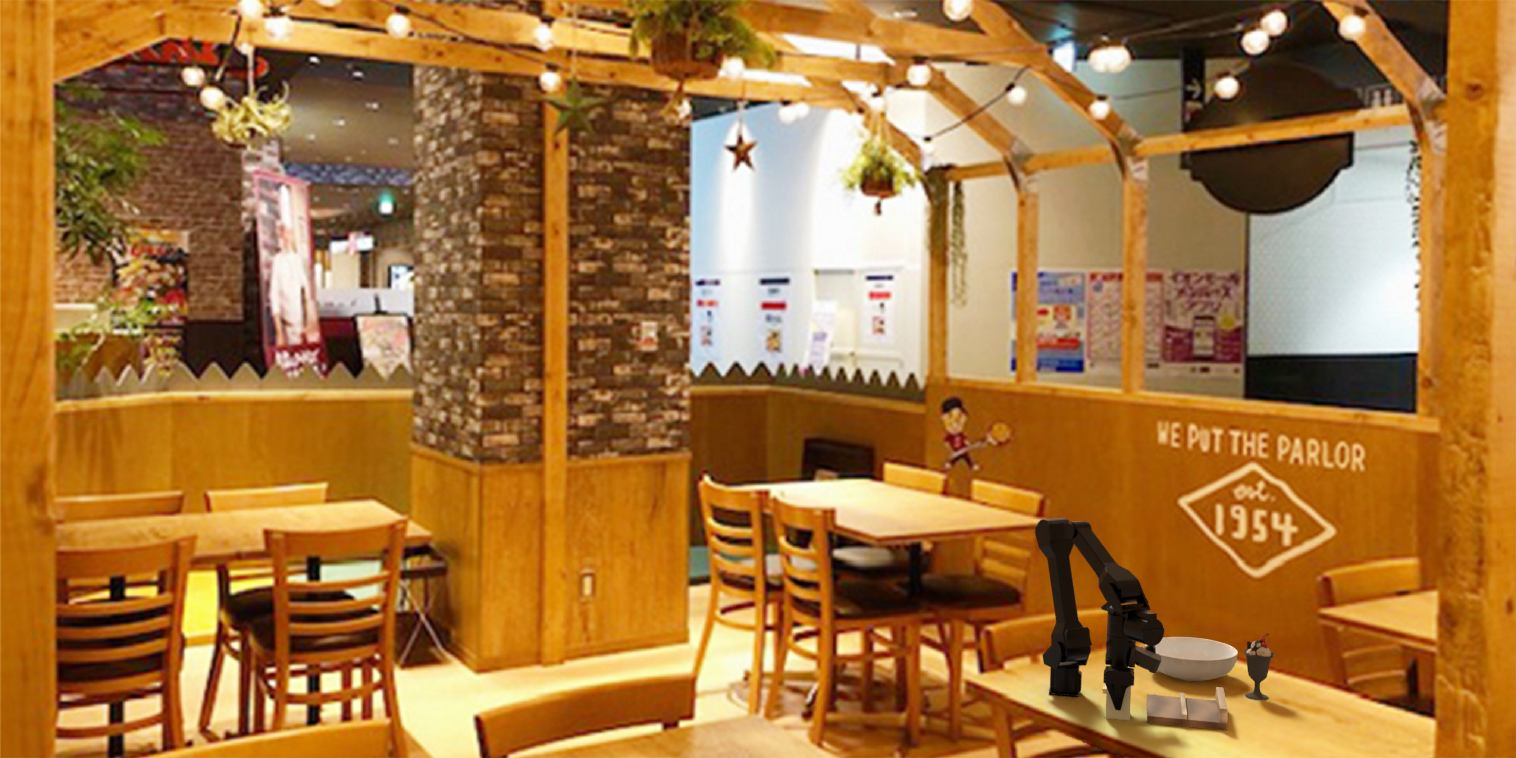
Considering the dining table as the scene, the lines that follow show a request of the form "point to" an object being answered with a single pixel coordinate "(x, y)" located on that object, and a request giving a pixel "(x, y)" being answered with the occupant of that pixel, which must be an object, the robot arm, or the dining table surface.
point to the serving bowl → (1195, 658)
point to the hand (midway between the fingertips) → (1118, 706)
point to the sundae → (1258, 665)
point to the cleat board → (1188, 711)
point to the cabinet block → (1125, 709)
